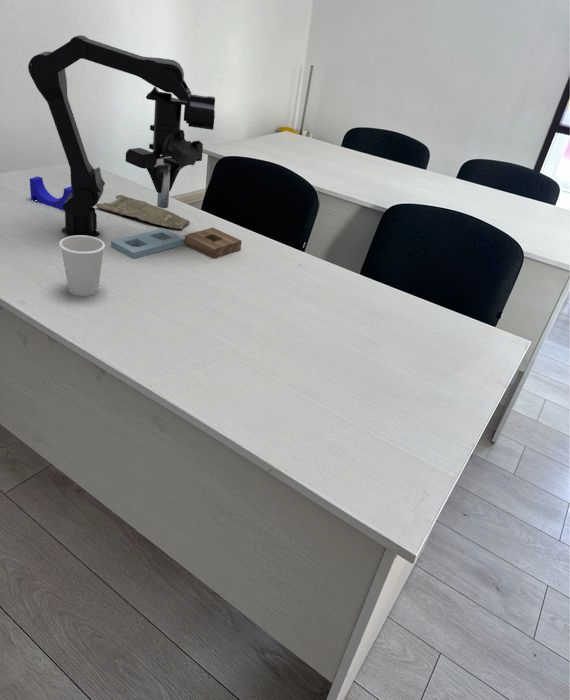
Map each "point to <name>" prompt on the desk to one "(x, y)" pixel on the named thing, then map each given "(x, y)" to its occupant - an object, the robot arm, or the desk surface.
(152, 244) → the block
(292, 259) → the desk surface
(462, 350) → the desk surface
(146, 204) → the stone tool
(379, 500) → the desk surface
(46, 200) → the blue semicircular cradle block
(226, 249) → the socket block
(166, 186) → the grey cylindrical peg
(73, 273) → the dixie cup
